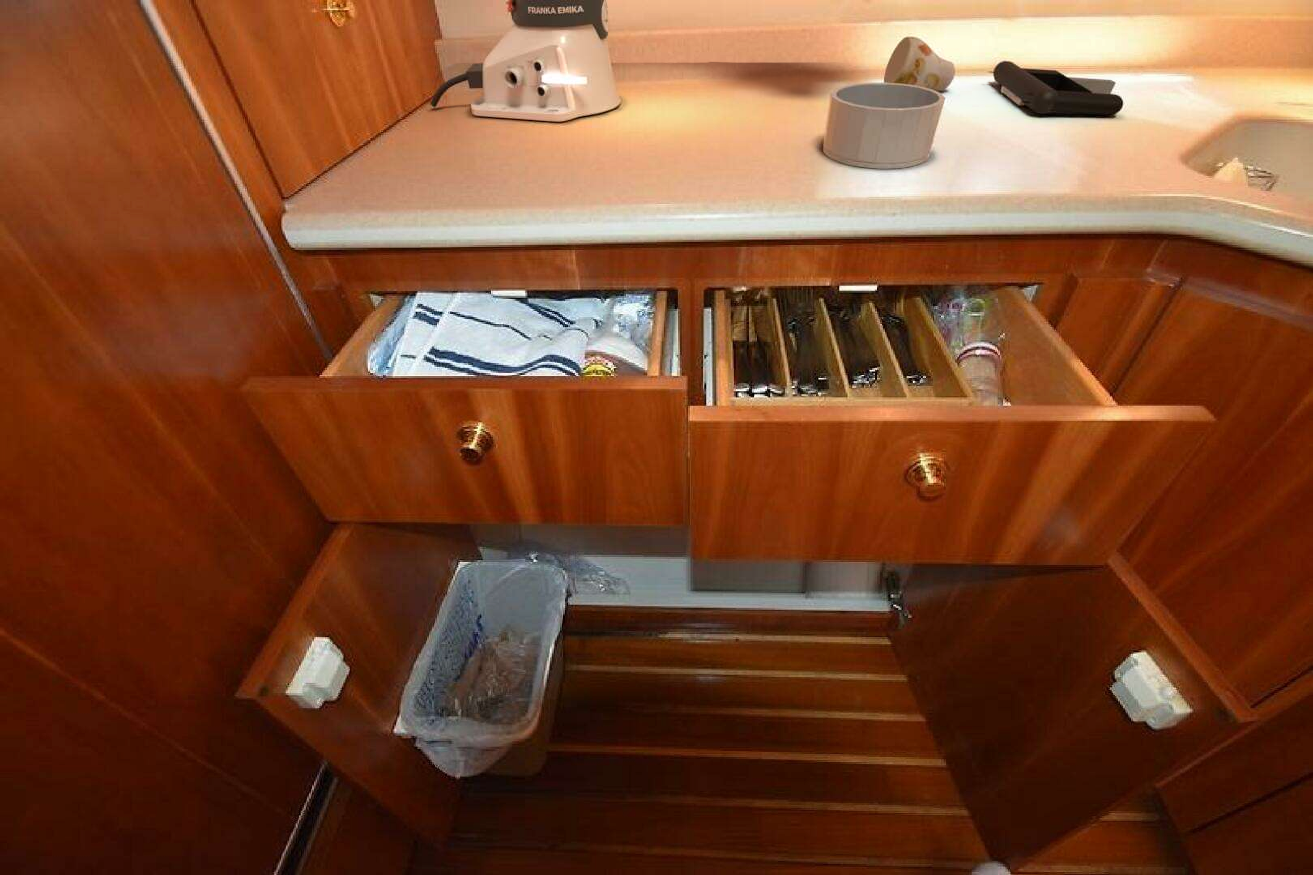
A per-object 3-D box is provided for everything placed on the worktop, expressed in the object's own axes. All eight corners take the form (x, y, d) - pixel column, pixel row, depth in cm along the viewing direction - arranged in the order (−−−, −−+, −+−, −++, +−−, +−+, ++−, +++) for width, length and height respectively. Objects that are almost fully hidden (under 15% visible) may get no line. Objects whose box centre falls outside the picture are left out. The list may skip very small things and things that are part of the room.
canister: (826, 167, 66) (836, 109, 62) (819, 135, 75) (827, 82, 71) (938, 170, 65) (956, 109, 61) (918, 136, 74) (932, 82, 70)
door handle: (1096, 65, 90) (988, 58, 91) (1163, 98, 75) (1033, 89, 76) (1085, 89, 92) (980, 82, 93) (1147, 126, 77) (1022, 118, 78)
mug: (962, 97, 88) (953, 31, 81) (894, 126, 92) (880, 66, 85) (951, 72, 92) (942, 7, 85) (887, 101, 96) (873, 42, 89)
